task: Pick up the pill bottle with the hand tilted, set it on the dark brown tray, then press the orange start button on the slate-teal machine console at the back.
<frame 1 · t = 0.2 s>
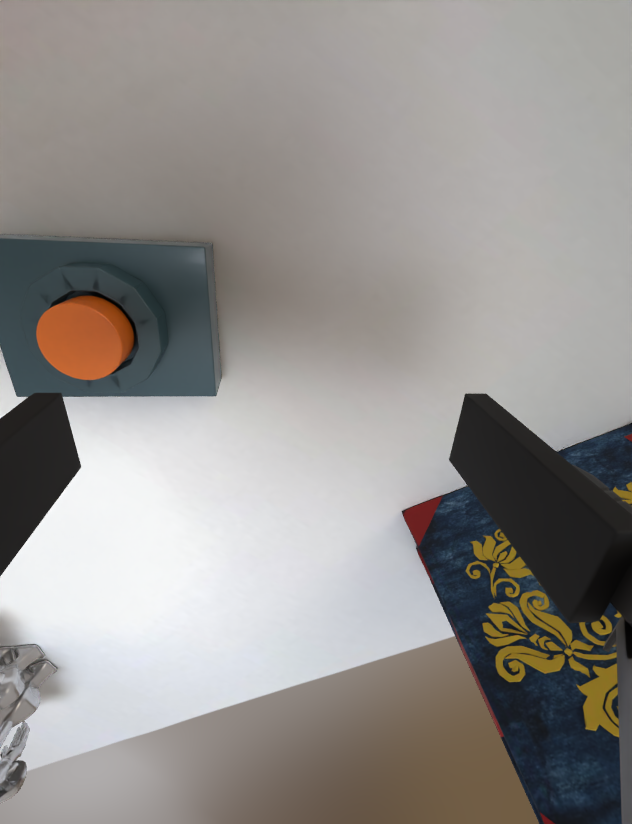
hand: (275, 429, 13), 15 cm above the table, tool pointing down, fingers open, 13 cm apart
console: (123, 313, 25), on the table
book: (534, 482, 36), on the table
robot toy: (15, 651, 39), on the table
console button: (88, 337, 20), point 6 cm above the table, slide at 0.1 cm
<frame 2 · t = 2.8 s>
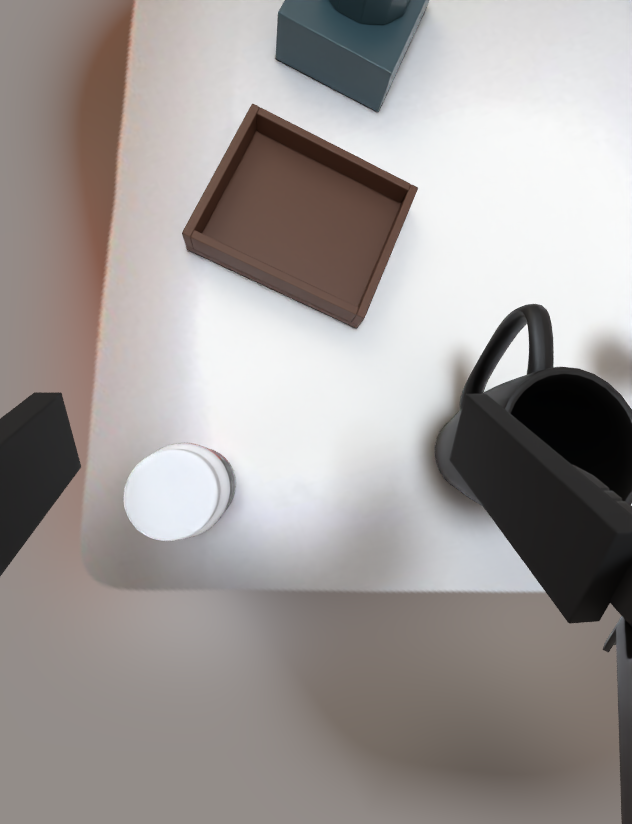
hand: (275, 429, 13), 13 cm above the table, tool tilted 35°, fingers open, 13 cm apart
console: (354, 31, 32), on the table
tray: (303, 226, 29), on the table
mug: (465, 427, 29), on the table
pill bottle: (199, 484, 25), on the table
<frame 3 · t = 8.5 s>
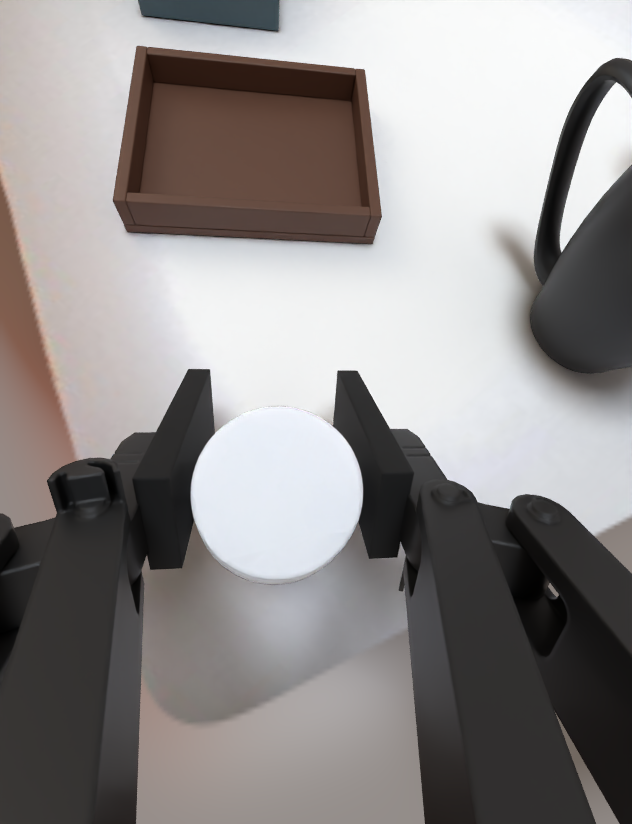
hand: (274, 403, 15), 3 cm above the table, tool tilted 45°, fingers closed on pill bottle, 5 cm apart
tray: (255, 160, 23), on the table
mug: (553, 303, 22), on the table
pill bottle: (274, 510, 17), on the table, touching gripper
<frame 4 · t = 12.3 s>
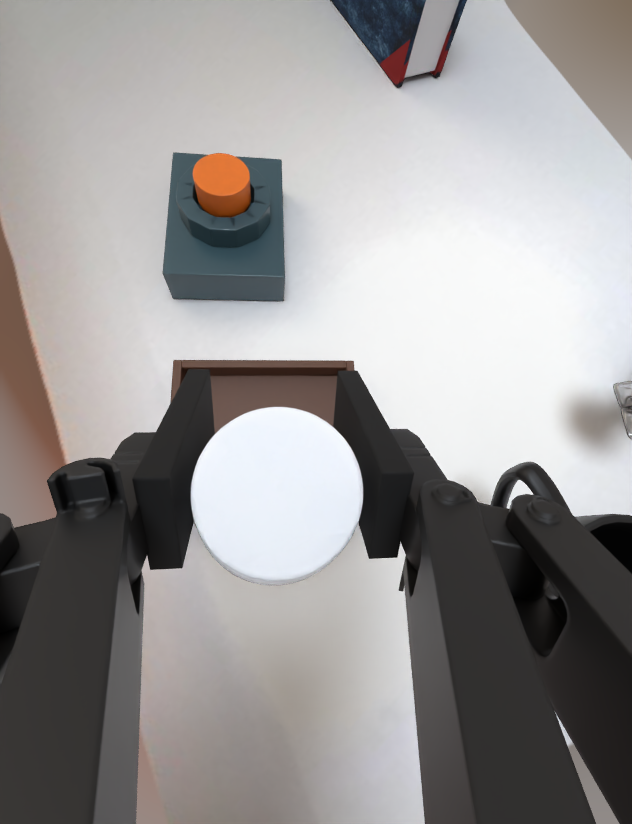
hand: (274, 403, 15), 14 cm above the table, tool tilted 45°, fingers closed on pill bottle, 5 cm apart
console: (230, 241, 34), on the table
tray: (267, 440, 29), on the table
book: (363, 15, 46), on the table
robot toy: (630, 410, 33), on the table
mug: (503, 556, 28), on the table
pill bottle: (274, 510, 17), point 11 cm above the table, touching gripper
console button: (222, 186, 29), point 6 cm above the table, slide at 0.1 cm
when the fingers open (4 cm above the table, at t = 16.2 s): pill bottle stays where it is, resting on tray.
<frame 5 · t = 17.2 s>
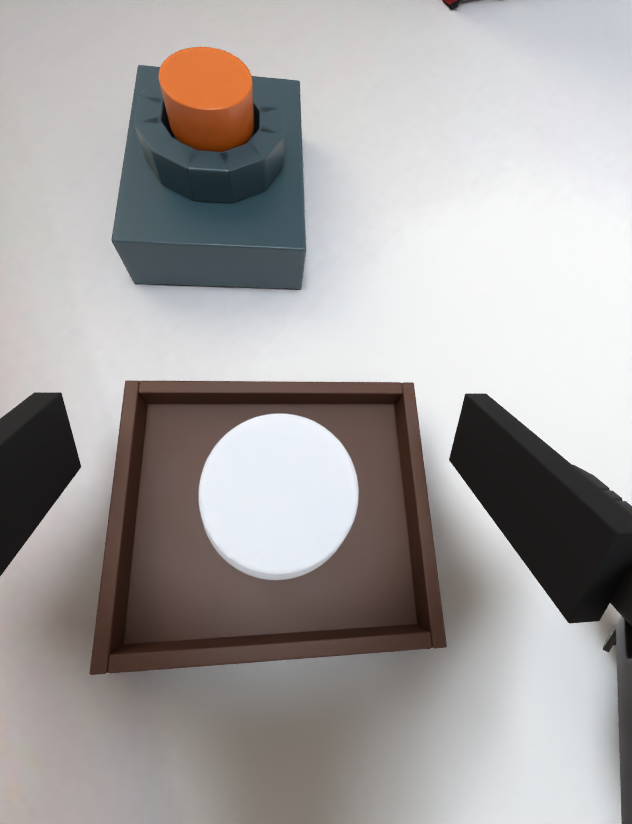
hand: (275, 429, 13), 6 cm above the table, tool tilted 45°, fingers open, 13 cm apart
console: (223, 201, 23), on the table
tray: (275, 509, 18), on the table
pill bottle: (276, 510, 18), resting on tray
console button: (209, 101, 18), point 6 cm above the table, slide at 0.1 cm
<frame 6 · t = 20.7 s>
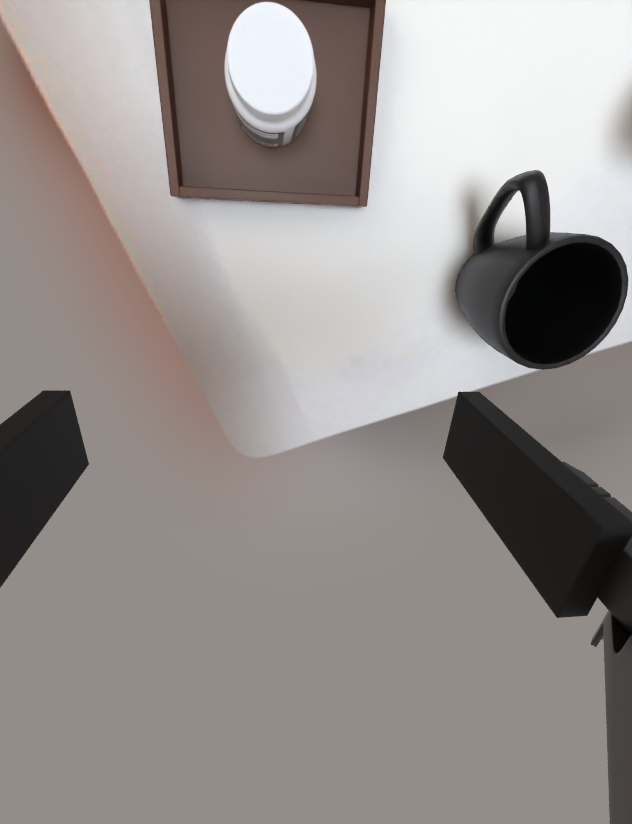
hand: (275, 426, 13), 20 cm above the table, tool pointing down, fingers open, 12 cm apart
tray: (270, 105, 25), on the table
mug: (481, 260, 32), on the table
pill bottle: (271, 105, 25), resting on tray
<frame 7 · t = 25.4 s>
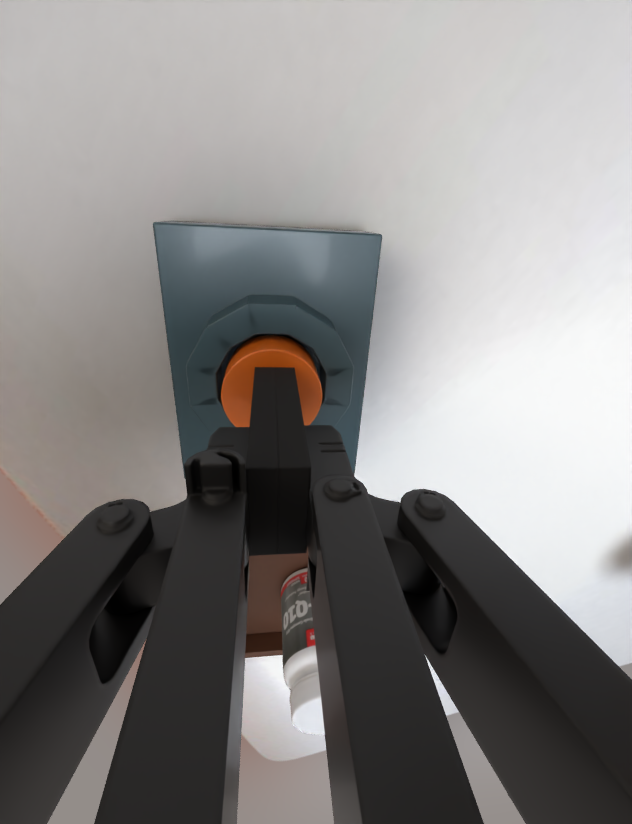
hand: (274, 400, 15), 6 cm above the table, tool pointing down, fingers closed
console: (271, 350, 21), on the table
tray: (311, 580, 29), on the table
pill bottle: (311, 584, 29), resting on tray
console button: (272, 387, 16), point 5 cm above the table, slide at -0.5 cm, touching gripper
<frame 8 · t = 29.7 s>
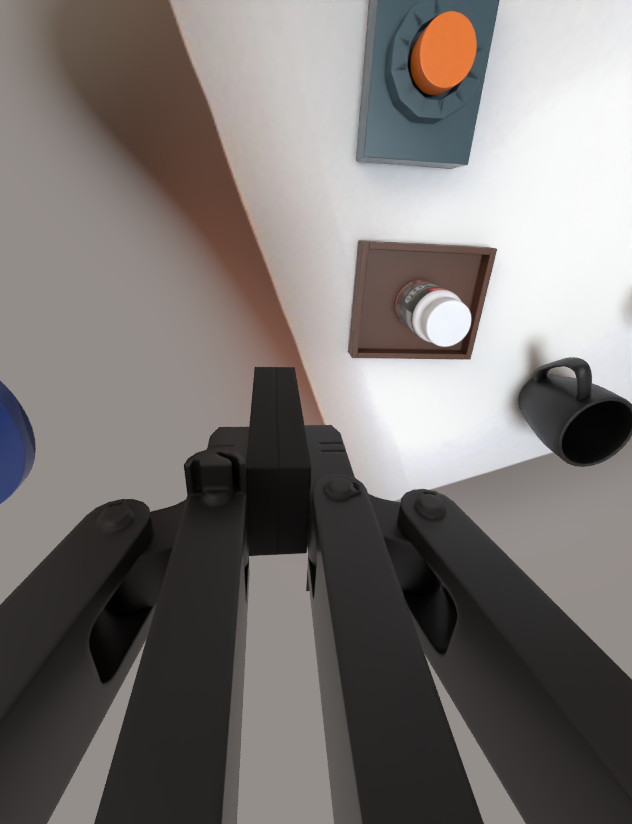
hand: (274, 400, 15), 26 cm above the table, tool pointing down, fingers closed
console: (415, 80, 32), on the table
tray: (414, 301, 41), on the table
mug: (536, 381, 47), on the table
pill bottle: (415, 302, 40), resting on tray
console button: (442, 56, 27), point 6 cm above the table, slide at 0.1 cm
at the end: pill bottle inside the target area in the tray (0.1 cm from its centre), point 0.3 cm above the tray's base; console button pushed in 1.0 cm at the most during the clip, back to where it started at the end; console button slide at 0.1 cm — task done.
